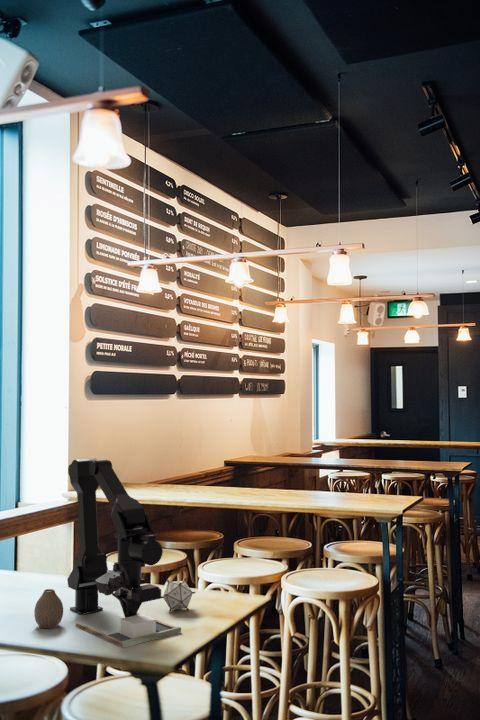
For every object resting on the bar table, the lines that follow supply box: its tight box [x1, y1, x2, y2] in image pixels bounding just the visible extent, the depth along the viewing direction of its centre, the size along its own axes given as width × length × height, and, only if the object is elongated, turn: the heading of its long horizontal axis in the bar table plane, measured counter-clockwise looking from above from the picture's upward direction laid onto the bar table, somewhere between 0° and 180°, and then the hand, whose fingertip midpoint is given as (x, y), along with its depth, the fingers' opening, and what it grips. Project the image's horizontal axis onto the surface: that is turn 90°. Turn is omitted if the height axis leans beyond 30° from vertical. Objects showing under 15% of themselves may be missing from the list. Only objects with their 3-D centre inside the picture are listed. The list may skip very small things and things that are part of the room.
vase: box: [33, 588, 64, 630], centre depth 188 cm, size 7×7×9 cm
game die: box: [161, 577, 196, 613], centre depth 202 cm, size 9×8×10 cm
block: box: [119, 613, 157, 638], centre depth 181 cm, size 6×6×4 cm
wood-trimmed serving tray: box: [75, 612, 182, 648], centre depth 185 cm, size 21×16×1 cm
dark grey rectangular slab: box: [108, 623, 170, 641], centre depth 181 cm, size 6×14×1 cm, turn 132°
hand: (129, 623), depth 185 cm, fingers closed
